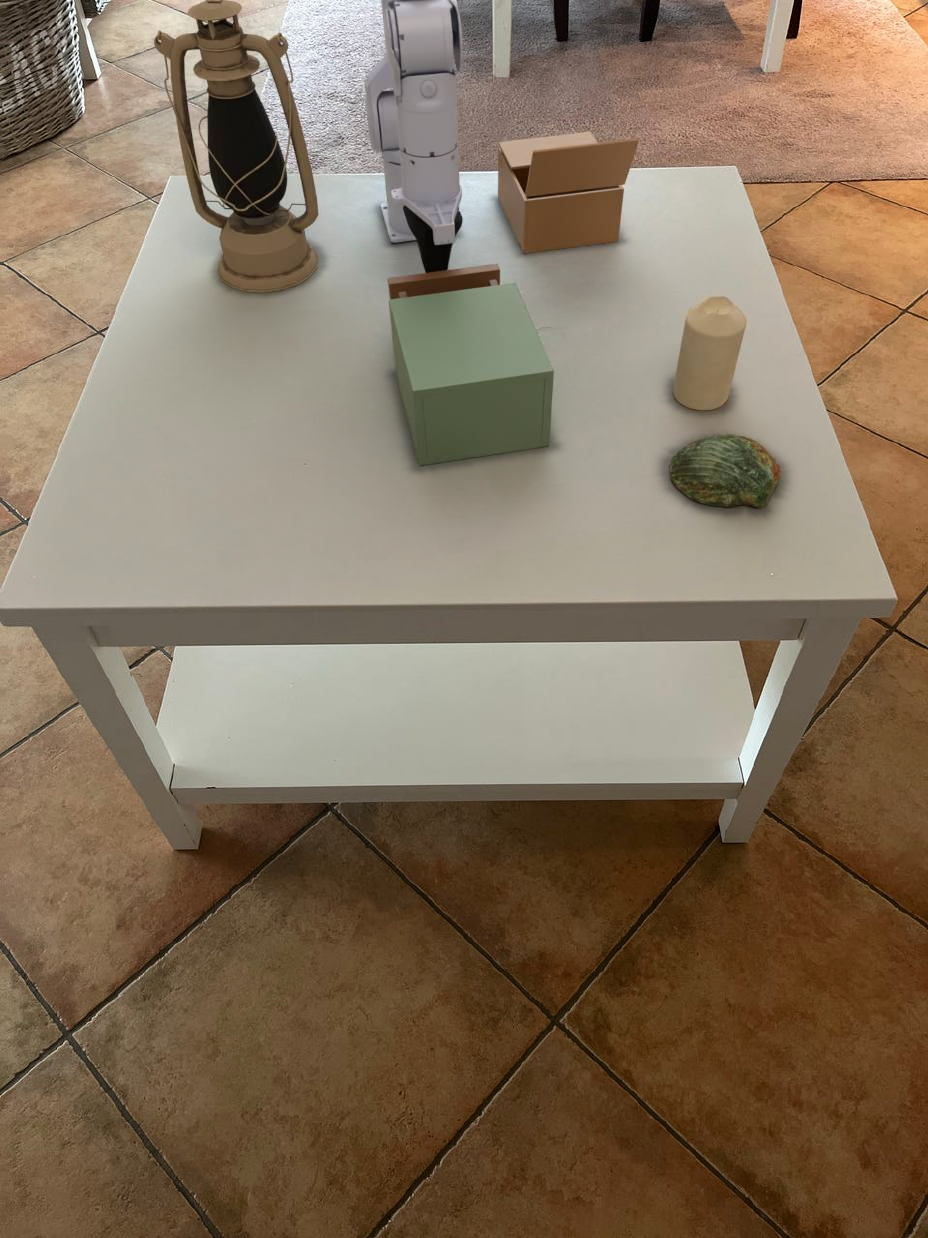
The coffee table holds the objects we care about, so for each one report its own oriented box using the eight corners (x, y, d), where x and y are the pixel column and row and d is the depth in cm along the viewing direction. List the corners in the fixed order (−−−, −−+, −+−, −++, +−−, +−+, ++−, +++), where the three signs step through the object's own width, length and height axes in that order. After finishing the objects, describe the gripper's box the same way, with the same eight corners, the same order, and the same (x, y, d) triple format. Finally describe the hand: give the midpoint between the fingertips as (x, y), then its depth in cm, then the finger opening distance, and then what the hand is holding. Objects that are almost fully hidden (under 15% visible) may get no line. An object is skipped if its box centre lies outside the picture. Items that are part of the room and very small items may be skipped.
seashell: (747, 393, 84) (815, 459, 79) (741, 427, 88) (805, 493, 82) (653, 430, 83) (714, 500, 77) (650, 463, 86) (708, 533, 80)
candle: (727, 413, 89) (749, 324, 82) (670, 407, 90) (687, 318, 82) (729, 379, 93) (750, 290, 85) (674, 374, 93) (690, 285, 86)
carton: (618, 241, 110) (624, 182, 105) (523, 253, 109) (524, 194, 103) (586, 187, 119) (590, 130, 113) (497, 198, 117) (498, 141, 112)
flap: (624, 182, 105) (624, 184, 105) (525, 194, 103) (525, 196, 103) (638, 137, 98) (639, 140, 98) (532, 150, 97) (533, 152, 97)
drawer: (387, 314, 100) (381, 256, 95) (489, 300, 101) (488, 242, 96) (413, 414, 89) (408, 355, 84) (527, 397, 90) (529, 338, 85)
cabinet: (395, 373, 95) (388, 299, 88) (514, 357, 96) (515, 282, 89) (419, 466, 86) (412, 391, 79) (549, 446, 87) (554, 370, 80)
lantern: (194, 289, 106) (108, -12, 82) (223, 236, 113) (152, -54, 90) (316, 295, 104) (265, -10, 81) (337, 241, 112) (296, -53, 88)
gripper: (377, 117, 92) (389, 244, 102) (399, 183, 83) (409, 316, 93) (446, 109, 93) (450, 237, 103) (475, 174, 84) (477, 307, 94)
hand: (435, 274), depth 98 cm, fingers closed
